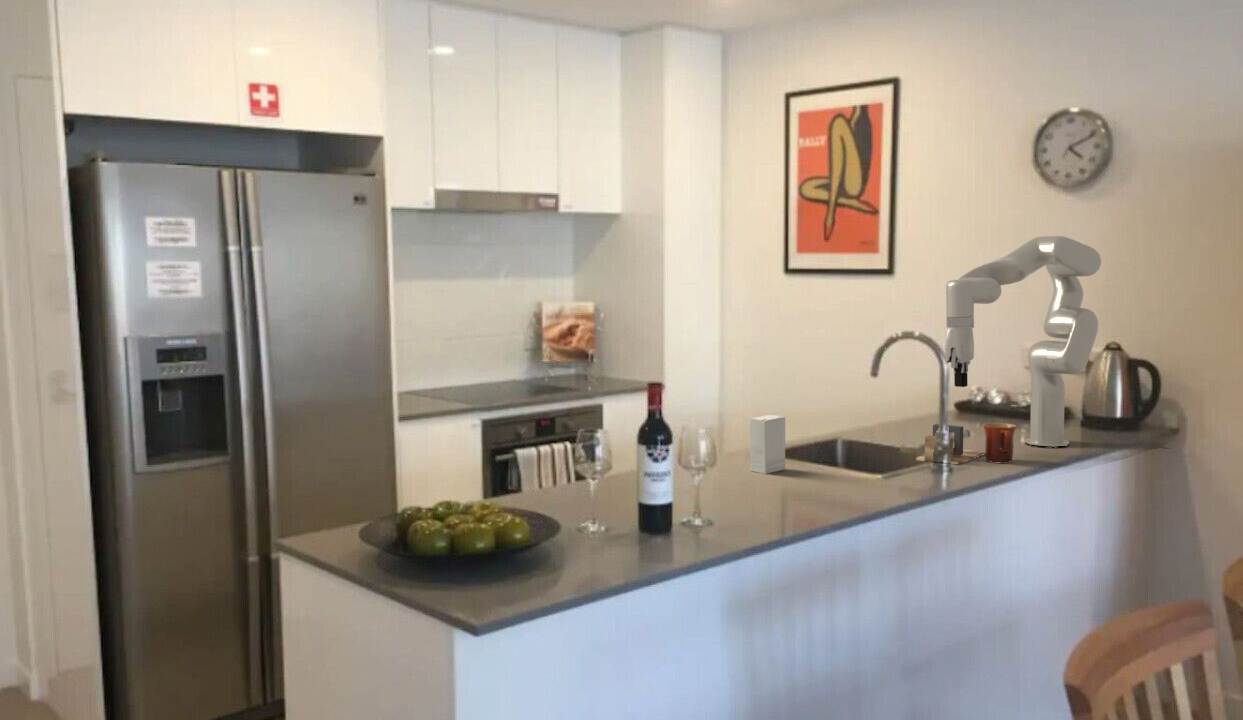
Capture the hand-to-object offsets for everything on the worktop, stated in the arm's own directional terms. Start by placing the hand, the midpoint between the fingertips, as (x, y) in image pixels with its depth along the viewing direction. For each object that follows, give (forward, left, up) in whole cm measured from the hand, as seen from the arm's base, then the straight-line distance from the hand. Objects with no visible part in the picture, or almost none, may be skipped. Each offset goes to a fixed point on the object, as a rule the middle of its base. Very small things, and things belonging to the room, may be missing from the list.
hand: (961, 386), depth 304 cm
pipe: (+4, 0, -16) cm, 16 cm away
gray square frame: (+8, 0, -18) cm, 20 cm away
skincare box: (+53, -31, -20) cm, 65 cm away
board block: (+5, 0, -20) cm, 21 cm away
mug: (+4, +14, -20) cm, 25 cm away
